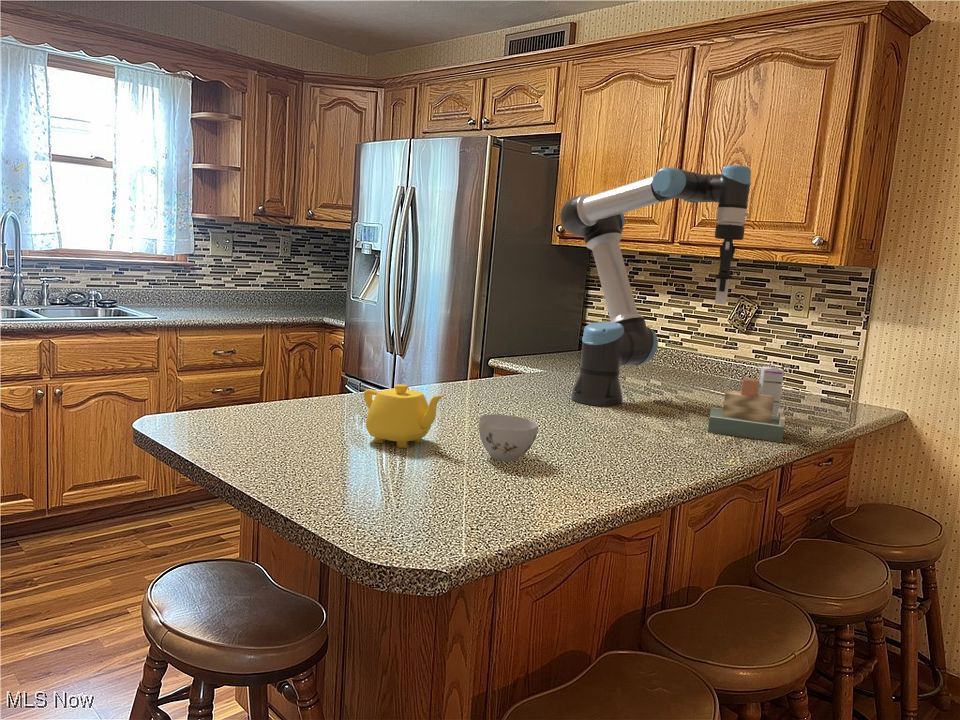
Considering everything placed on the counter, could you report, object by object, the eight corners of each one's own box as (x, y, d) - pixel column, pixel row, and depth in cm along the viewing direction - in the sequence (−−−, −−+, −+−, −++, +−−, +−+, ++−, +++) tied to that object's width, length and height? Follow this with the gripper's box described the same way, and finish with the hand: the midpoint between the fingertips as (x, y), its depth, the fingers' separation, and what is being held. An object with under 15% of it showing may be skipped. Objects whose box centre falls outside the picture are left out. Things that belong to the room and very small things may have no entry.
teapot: (424, 457, 153) (428, 397, 151) (344, 439, 162) (347, 382, 160) (456, 444, 165) (460, 388, 163) (379, 428, 174) (382, 375, 172)
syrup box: (778, 419, 220) (785, 370, 218) (757, 416, 221) (764, 368, 219) (775, 415, 225) (781, 367, 223) (754, 413, 227) (760, 365, 224)
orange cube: (741, 394, 197) (743, 379, 196) (741, 392, 201) (743, 377, 200) (757, 396, 196) (759, 381, 195) (757, 394, 199) (759, 379, 199)
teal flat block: (707, 432, 196) (710, 409, 195) (709, 421, 209) (712, 400, 208) (781, 442, 190) (785, 419, 189) (779, 431, 203) (782, 409, 203)
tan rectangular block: (722, 415, 198) (725, 393, 197) (723, 411, 204) (725, 389, 203) (771, 422, 194) (774, 399, 193) (770, 418, 200) (773, 395, 199)
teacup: (518, 470, 148) (521, 431, 147) (464, 458, 154) (466, 420, 153) (550, 455, 161) (553, 419, 160) (498, 444, 167) (501, 409, 166)
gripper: (745, 222, 191) (734, 306, 195) (744, 227, 215) (735, 302, 218) (714, 221, 194) (704, 303, 197) (717, 226, 217) (708, 299, 220)
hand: (720, 303), depth 207 cm, fingers open, 13 cm apart
